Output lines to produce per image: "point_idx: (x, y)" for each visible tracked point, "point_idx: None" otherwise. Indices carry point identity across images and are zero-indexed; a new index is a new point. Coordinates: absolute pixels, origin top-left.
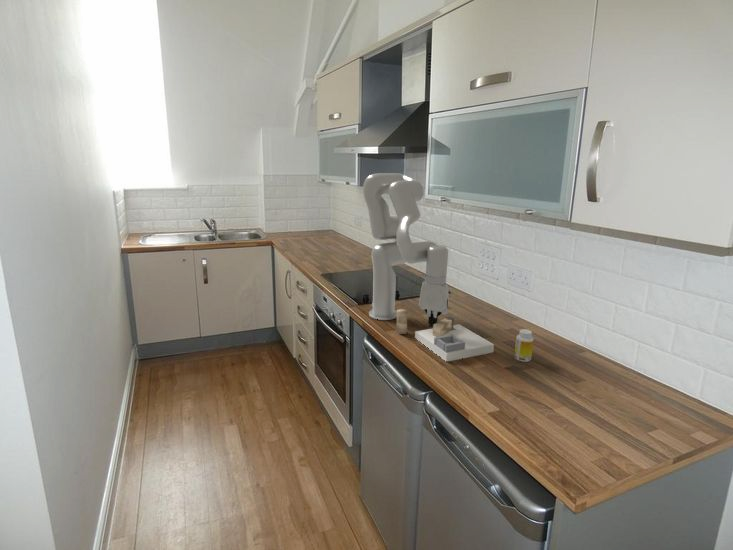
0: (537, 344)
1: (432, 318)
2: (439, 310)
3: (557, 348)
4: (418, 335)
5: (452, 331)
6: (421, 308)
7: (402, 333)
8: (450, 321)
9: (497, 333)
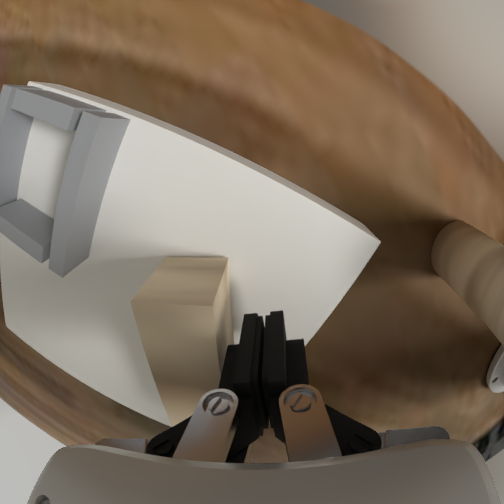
0: (36, 401)
1: (246, 377)
2: (89, 459)
3: (14, 393)
4: (334, 211)
5: None
6: (426, 438)
7: (446, 231)
8: (172, 422)
9: (123, 435)
